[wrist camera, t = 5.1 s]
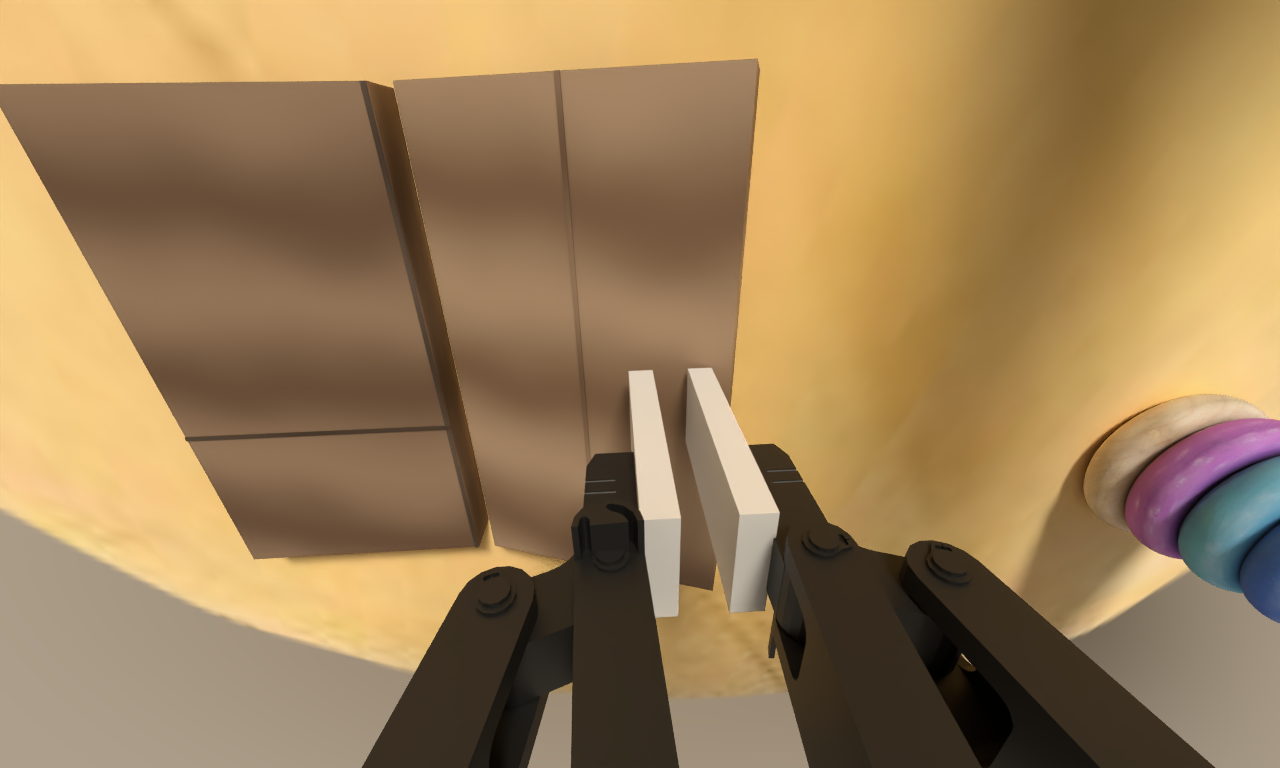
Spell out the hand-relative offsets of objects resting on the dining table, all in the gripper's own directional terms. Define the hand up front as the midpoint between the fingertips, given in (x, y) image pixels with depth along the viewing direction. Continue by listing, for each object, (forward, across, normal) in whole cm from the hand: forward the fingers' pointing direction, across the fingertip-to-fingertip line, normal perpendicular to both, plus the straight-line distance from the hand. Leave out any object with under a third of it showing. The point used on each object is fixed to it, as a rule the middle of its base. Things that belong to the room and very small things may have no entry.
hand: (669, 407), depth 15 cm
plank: (+3, -2, 0) cm, 4 cm away
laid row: (+5, -13, 0) cm, 14 cm away
